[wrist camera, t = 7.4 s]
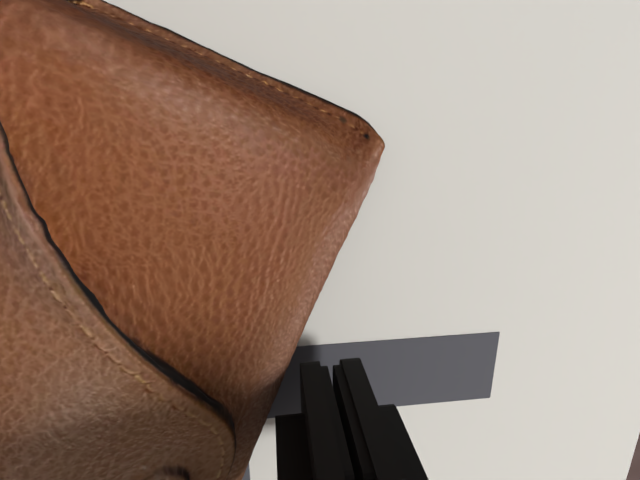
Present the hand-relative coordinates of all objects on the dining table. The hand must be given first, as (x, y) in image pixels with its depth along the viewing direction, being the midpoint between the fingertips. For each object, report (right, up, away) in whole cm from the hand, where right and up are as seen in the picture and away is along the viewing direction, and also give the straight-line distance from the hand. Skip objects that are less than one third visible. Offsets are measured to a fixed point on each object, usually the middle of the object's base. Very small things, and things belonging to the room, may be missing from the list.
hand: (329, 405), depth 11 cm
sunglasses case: (-5, +1, 0) cm, 5 cm away
